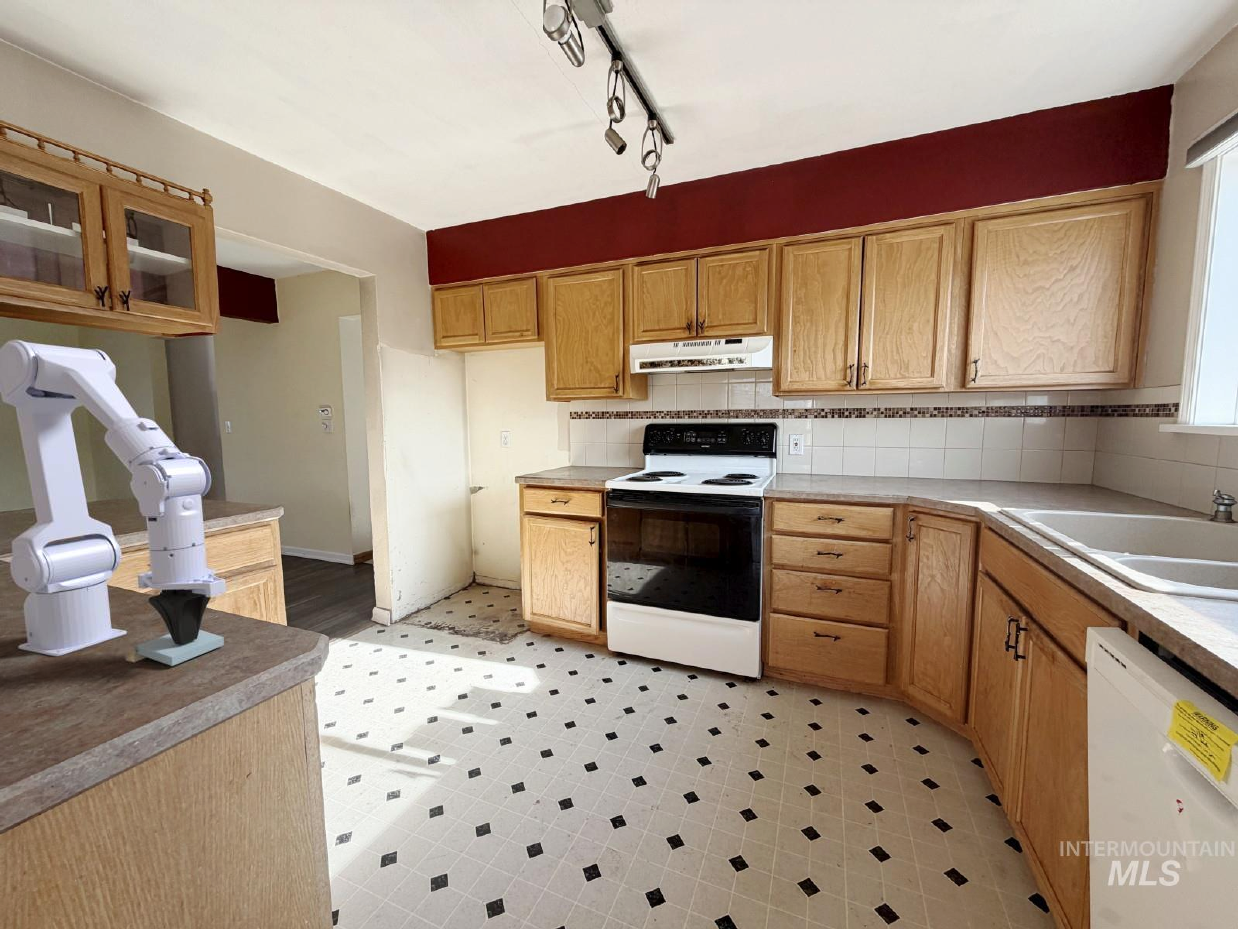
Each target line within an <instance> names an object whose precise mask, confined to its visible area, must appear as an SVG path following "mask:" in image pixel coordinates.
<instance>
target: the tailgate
mask: <svg viewBox="0 0 1238 929" xmlns="http://www.w3.org/2000/svg"><path fill="white" fill-rule="evenodd" d="M224 645H225V640H224V637H223V636H222V635H221V636H220V635H217V634H214V633H212V632H208V631H205V630H202V629H199V633H198V637H197V639H195V640H193V641H190V642H187V643H185V644H182V645H180V644H175V643H174V641H173V639H172V637H171V635H170V633H167V634H165V635H163V636H158V637H156V638H154V639H150V640H147V641H145V642H142V643H140V644H137V645H136V646H135V648H134V649H135V651H136V652H137V654H140V655H143V656H145V657H147V658H148V659H151V660H154V661H158V662H159V663H162V664H165V665H168V666H171V667H173V666H176V665H178V664H180V663H184V662H185V661H188V660H190V659H193V658H195V657H197V656H198V657H199V656H200V655H203V654H205V653H208V652H211V651H212V650H215V649H217V648H220V647H222V646H224Z"/></svg>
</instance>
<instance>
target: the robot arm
mask: <svg viewBox="0 0 1238 929" xmlns="http://www.w3.org/2000/svg"><path fill="white" fill-rule="evenodd" d="M116 371H117V369H116V365H115V364H114V363H113V361H112V359H111V358H110V357H109V355H107V353H106V352H104V351H103V350H101V349H96V348H89V349H86V348H79V347H69V346H60V345H54V344H53V345H51V344H44V343H43V344H42V343H36V342H28V341H27V342H26V341H23V340H22V339H21V340H20V339H12V340H11V339H10V340H8V341H7V342H6V343H4V344H3V345H2V346H1V348H0V395H1V400H2V401H3V402H4V403H6V404H8V405H11V406H13V407H15V411H16V417H17V421H18V427H19V432H20V436H21V437H20V438H21V442H22V448H23V452H24V453H23V454H24V459H25V464H26V469H27V470H26V471H27V473H28V474H27V475H28V478H29V479H28V480H29V485H30V489H31V495H32V501H33V505H34V507H33V508H34V510H35V517H36V521H37V522H36V523H35V524H33V525H32V526H31V527H29V528H28V529H27V530H26V531H24V532H23V533H21V534H19V535H18V536H17V537H16V538H14V540H12V541H11V553H12V554H11V555H12V556H11V561H10V566H9V568H10V574H11V577H12V579H13V581H14V583H15V584H16V585H17V586H18V587H20V588H21V589H23V590H24V591H26V592H28V593H29V594H28V596H27V597H26V598H25V600H24V603H23V614H24V622H25V631H26V638H27V642H26V643H21V644H20V645H18V649H20V650H24V651H28V652H33V653H38V654H43V655H47V656H52V657H60V656H64V655H66V654H70V653H72V652H75V651H79V650H82V649H84V648H88V647H91V646H94V645H97V644H99V643H103V642H106V641H109V640H112V639H115V638H118V637H121V636H124V635H127V632H128V631H127V630H122V629H118V628H112V623H111V621H112V620H111V611H110V610H111V608H110V602H109V601H110V600H109V590H108V582H107V580H109V579H112V578H113V573H115V572H116V570H118V568H119V566H120V565H121V562H122V558H123V557H122V549H121V546H120V545H119V543H118V542H117V539H115V536H114V533H113V530H112V526H110V525H109V524H107V523H104V522H103V521H100V520H96V519H94V518H92V517H91V516H90V515H89V510H88V504H87V498H86V494H85V488H84V483H83V476H82V471H81V466H80V461H79V454H78V450H77V444H76V438H75V435H74V428H73V423H72V417H71V416H72V415H71V414H72V413H73V412H74V411H75V409H76V408H79V407H84V408H85V409H86V410H88V412H90V413H91V414H92V416H94V417H95V419H96V420H98V421H99V422H100V423H101V424H102V425H103V426H104V427H105V428H106V429H107V431H106V432H105V435H104V441H105V442H104V443H106V444H107V446H108V447H109V449H110V450H111V451H112V452H113V453H114V454H115V455H116V457H117V458H118V459H119V460H120V461H121V462H122V464H123V465H124V466H125V467H126V468H127V470H128V471H129V472H130V473H131V475H132V476H131V481H130V482H129V485H130V488H131V492H132V493H133V496H134V497H135V498H136V500H137V502H138V507H139V508H138V509H139V512H140V513H141V516H142V517H145V518H146V529H147V540H148V550H149V561H150V563H149V564H150V571H149V572H145V573H140V574H137V582H138V589H147V588H150V589H153V590H156V591H157V590H158V591H159V590H160V592H159V594H156V595H153V596H151V597H149V598H147V599H148V603H149V604H150V605H151V606H152V607H153V608H154V609H155V610H156V611H157V613H158V614H159V616H160V617H161V619H162V620H163V622H164V624H165V625H166V628H167V629H168V630H167V631H168V632H169V634H170V635H171V637H172V639H173V641H174V643H175V644H180V645H182V644H185V643H187V642H190V641H193V640H195V639H197V637H198V633H199V630H201V629H200V628H201V624H202V620H203V616H204V613H205V611H206V609H207V606H208V605H209V602H210V600H211V599H212V598H213V597H218V596H220V595H224V594H226V593H227V587H226V586H227V584H226V583H227V582H226V579H225V578H220V577H218V576H216V573H217V571H216V569H215V568H208V566H207V564H208V563H207V555H206V554H207V553H206V552H207V550H206V541H205V540H206V539H205V528H204V527H205V526H204V516H203V515H204V514H203V505H202V504H203V502H202V497H204V496H205V495H207V493H208V492H209V490H210V488H211V485H212V476H211V472H210V469H209V467H208V465H207V464H206V463H205V461H204V459H202V458H201V457H197V456H191V455H190V454H189V453H186V452H182V451H181V450H180V449H179V448H178V447H177V446H176V445H175V443H174V442H172V440H171V439H170V437H168V435H167V434H165V432H164V430H163V429H161V428H160V426H159V425H158V424H157V423H156V422H155V421H154V420H152V419H149V418H146V417H139V415H138V414H137V413H136V411H135V410H134V408H133V407H132V406H131V404H130V402H129V401H128V399H127V398H126V397H125V395H124V394H123V393H122V391H121V390H120V388H119V387H118V385H117V384H116V378H117V372H116ZM76 537H83V538H79V539H72V540H67V541H61V542H56V543H55V541H58V540H59V541H60V540H65V539H71V538H76ZM52 542H54V543H52Z"/></svg>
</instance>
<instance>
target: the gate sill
mask: <svg viewBox="0 0 1238 929" xmlns="http://www.w3.org/2000/svg"><path fill="white" fill-rule="evenodd" d="M124 656H125V661H127V662H132V663H136V662H138V661H141V660H143V659H146V658H148V657H145V656H143V655H140V654H137V652H136V651H135V648H133V649H130V650H127V651H125V652H124Z"/></svg>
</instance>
